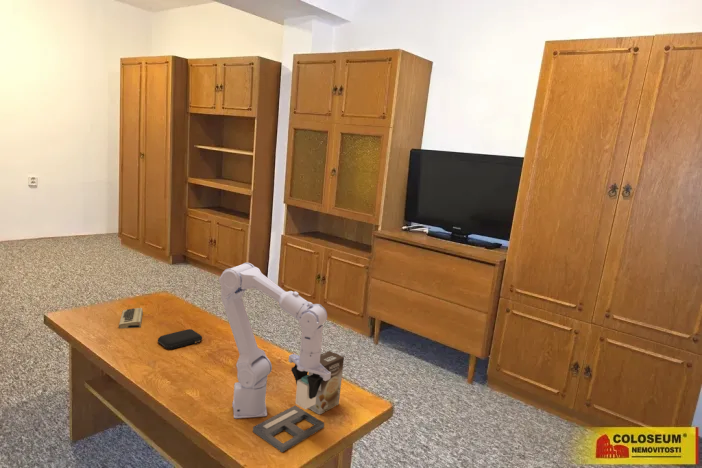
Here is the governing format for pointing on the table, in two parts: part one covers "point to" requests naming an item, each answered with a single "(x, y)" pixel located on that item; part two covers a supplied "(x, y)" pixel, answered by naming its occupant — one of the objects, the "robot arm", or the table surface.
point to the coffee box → (329, 383)
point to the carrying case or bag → (179, 339)
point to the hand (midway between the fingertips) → (306, 393)
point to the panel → (287, 427)
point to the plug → (304, 394)
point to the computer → (131, 318)
